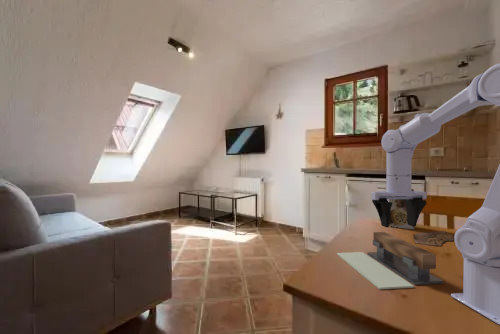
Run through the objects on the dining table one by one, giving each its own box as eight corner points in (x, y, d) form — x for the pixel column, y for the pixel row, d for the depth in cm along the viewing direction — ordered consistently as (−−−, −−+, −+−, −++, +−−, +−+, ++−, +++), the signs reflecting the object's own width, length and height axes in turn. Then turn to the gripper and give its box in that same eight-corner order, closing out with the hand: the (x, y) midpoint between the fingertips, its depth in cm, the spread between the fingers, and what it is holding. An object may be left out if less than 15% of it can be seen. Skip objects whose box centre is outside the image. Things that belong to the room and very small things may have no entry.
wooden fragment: (436, 249, 76) (436, 246, 76) (399, 240, 86) (399, 237, 86) (465, 236, 90) (465, 233, 90) (431, 229, 99) (431, 227, 99)
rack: (443, 283, 54) (443, 262, 54) (414, 284, 54) (414, 263, 54) (389, 253, 72) (389, 237, 72) (367, 254, 72) (367, 238, 72)
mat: (413, 287, 53) (413, 285, 53) (379, 289, 52) (379, 287, 52) (362, 253, 73) (362, 251, 73) (336, 254, 72) (336, 252, 72)
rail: (435, 268, 54) (435, 254, 54) (422, 269, 54) (422, 255, 54) (383, 242, 72) (383, 231, 72) (373, 242, 72) (373, 232, 72)
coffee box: (413, 226, 103) (414, 188, 103) (414, 230, 98) (414, 190, 97) (389, 223, 108) (389, 187, 108) (388, 226, 102) (388, 188, 102)
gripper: (412, 174, 69) (412, 221, 70) (364, 175, 68) (364, 223, 68) (433, 175, 62) (433, 228, 62) (380, 176, 61) (380, 229, 61)
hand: (398, 226), depth 65 cm, fingers open, 7 cm apart
